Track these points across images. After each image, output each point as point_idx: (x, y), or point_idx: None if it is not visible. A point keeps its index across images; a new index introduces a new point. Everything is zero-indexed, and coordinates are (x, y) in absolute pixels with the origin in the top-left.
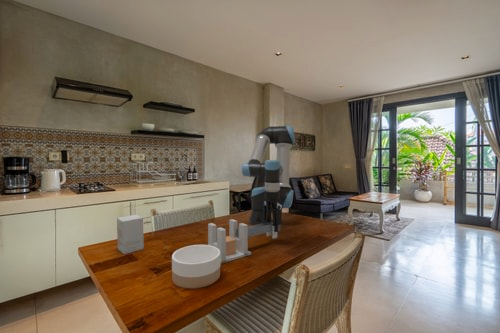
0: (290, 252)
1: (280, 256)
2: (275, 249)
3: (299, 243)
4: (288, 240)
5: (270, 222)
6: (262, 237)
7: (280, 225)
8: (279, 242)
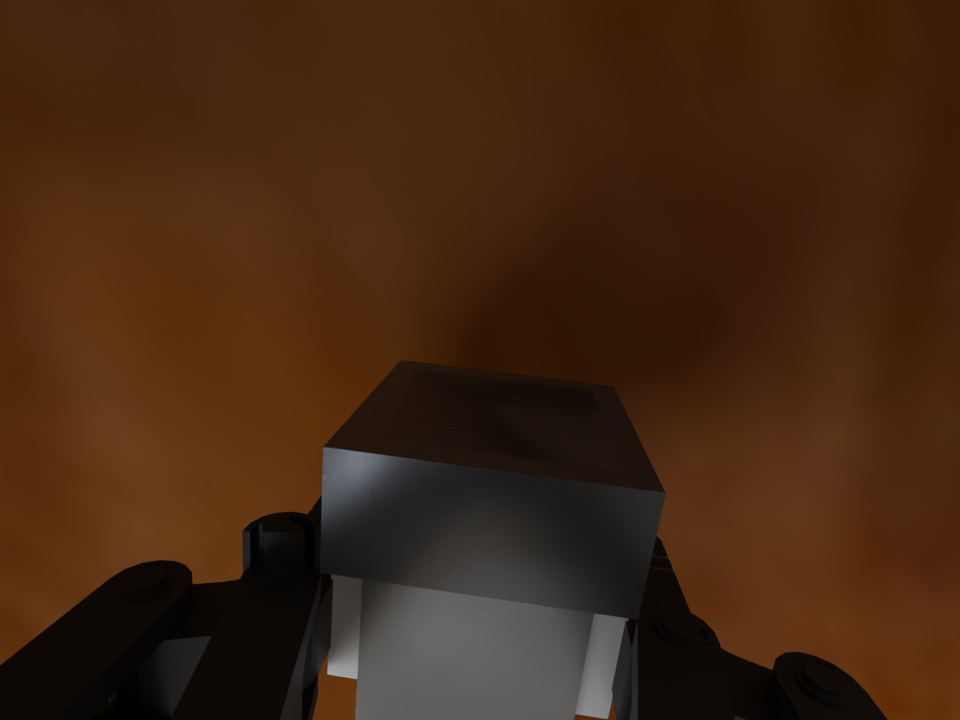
0: (932, 532)
1: (887, 694)
2: (711, 584)
3: (875, 138)
4: (641, 169)
5: (425, 678)
6: (266, 382)
7: (635, 433)
8: (589, 355)
